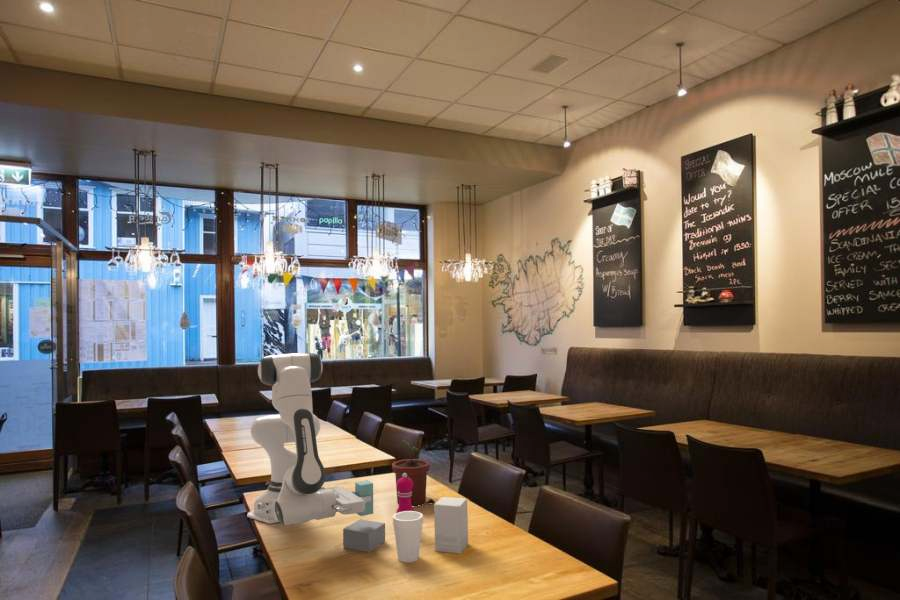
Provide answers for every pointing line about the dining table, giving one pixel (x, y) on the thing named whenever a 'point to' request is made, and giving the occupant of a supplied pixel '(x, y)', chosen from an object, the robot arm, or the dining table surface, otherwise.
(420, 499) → the potted plant
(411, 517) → the foam cup
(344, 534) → the pedestal
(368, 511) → the block
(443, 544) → the supplement box
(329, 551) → the dining table surface
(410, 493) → the pepper mill
